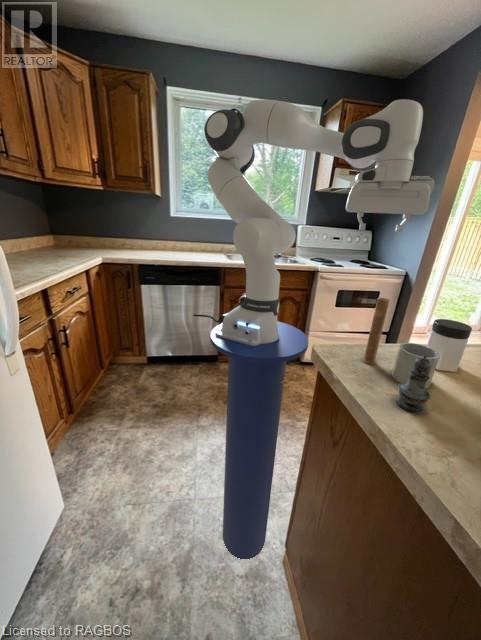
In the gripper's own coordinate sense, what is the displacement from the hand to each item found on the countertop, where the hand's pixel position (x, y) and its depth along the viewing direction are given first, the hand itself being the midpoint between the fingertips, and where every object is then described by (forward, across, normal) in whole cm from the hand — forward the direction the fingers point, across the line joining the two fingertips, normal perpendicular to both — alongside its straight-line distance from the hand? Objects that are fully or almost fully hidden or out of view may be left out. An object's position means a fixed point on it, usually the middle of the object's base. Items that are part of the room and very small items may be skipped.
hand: (379, 230), depth 76 cm
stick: (+34, -2, +14) cm, 37 cm away
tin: (+34, -11, +20) cm, 41 cm away
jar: (+34, -21, +8) cm, 41 cm away
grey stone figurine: (+34, -8, +32) cm, 48 cm away
